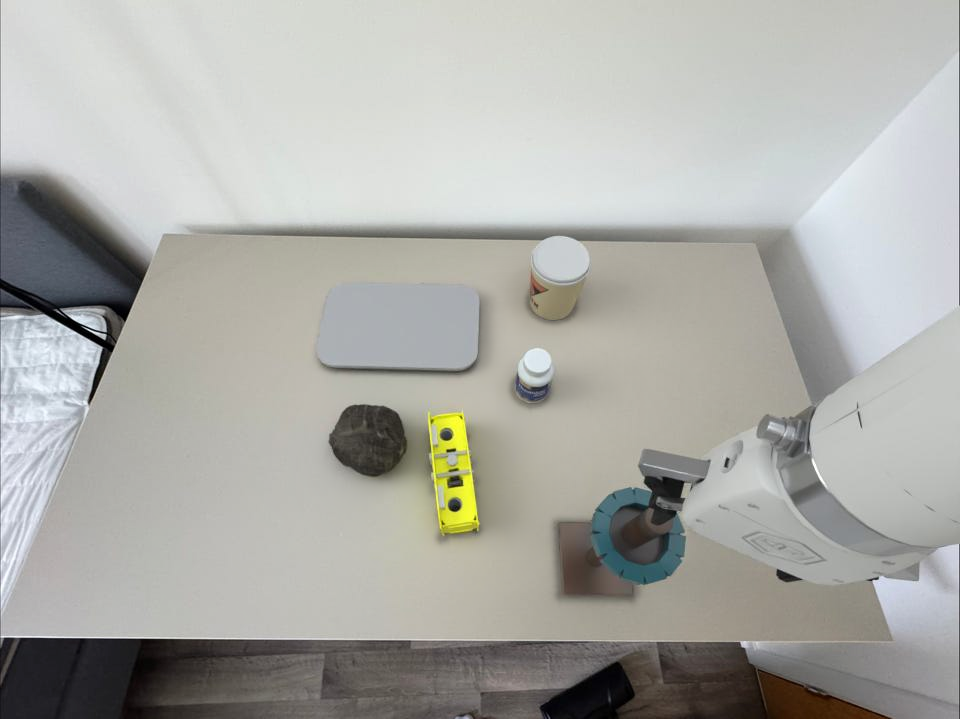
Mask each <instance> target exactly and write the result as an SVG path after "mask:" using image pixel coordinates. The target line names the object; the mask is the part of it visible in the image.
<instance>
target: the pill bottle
mask: <svg viewBox="0 0 960 719" xmlns="http://www.w3.org/2000/svg"><path fill="white" fill-rule="evenodd" d="M552 361H553V360H552V356H551V354H550V353H549V351H547V350H545V349H544V348H541V347H535V348H531V349H529V350H528V351H526V353H525V354H524V356H523V357H521V359H520V360H519V362H518V365H517V370H516V376H515V381H514V391H515V393H516V394H515V395H516V396H517V397H518V398H519V399H520V400H521V401H523V402H525V403H528V404H538V403H541V402H542V401H544V400H545V398H546V397H547V396H548V393H549V391H550V388H551V385H552V381H553V378H554V374H555V366H554V363H553V362H552Z"/></svg>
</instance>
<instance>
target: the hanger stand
mask: <svg viewBox="0 0 960 719" xmlns="http://www.w3.org/2000/svg"><path fill="white" fill-rule="evenodd" d="M653 512H654V509H652V508H648V509H647V510H643V509H640V508H636V507H633V506H630V507H626V508H622V509H619V510H618V511H617V512H616V513H615V514H614V515H613V517H612V519H611V525H610V531H609V534H610V537H611V539H612V542H613V545H614V548H615V549H616V550H617V551H618V552H619V553H620V554H621V555H622V556H623V557H624V558H625V559H626V560H627V561H630V562H633V563H637V564H640V565H647V564H650V563H654V562H655V560H656V559H657V558H658V557H659V555H660V554H661V553H662V552H663V543H664V535H663V534H665V533H667V532H669V531H670V530H671V528H672V526H673V518H672V519H671V520H669V521H667V522H665V523H664V524H662V525H658V526H657V525H654V524H652V523H651V519H652V515H653ZM557 527H558V529H557V530H558V544H559V545H558V546H559V559H560V576H561V578H560V579H561V589H562V590H561V591H562V592H561V593H562V596H622V597H623V596H625V597H628V596H629V597H630V596H631V597H632V596H634V588H633V583H630V582H627V581H623V580H620V579H619V575H617V576H614V575H613V574H612V573H611V572H610V571H609V570H608V569H607V568H606V567H605V566H604V565H603V564H602V563H601V562H600V559H601V558H602V557H603V556H600V557H597V556H596V553H595V550H594V547H593V544H592V541H591V538H590V537H591V536H592V535H594V534H592V533H590V528H591V522H566V521H565V522H564V521H561V522H560V521H559V522H558V524H557Z"/></svg>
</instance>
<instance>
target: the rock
mask: <svg viewBox="0 0 960 719" xmlns="http://www.w3.org/2000/svg"><path fill="white" fill-rule="evenodd" d="M405 433H406V432H405V428H404V424H403V420H402V419H401V417H400V415H399V413H398V412H397V411H395V410H394V409H392V408H390V407H388V406H385V405H372V404H371V405H370V404H367V403H365V404H361V403H360V404H351V405H349V406H347V407H345V409H343V411H342V412H341V414H340V415H339V419H338V420H337V422H336V424H335V425H334V429H332V432H330V433H329V434H328V444H329V445H330V447H331V450H332V454H333V455H334V457H335V459H336V460H338V462H340V463H341V465H342V466H345V467H347V468H351V469H352V470H354V472H356V473H358V474H360V475H361V476H366V477H372V478H375V477H379V476H382V475H384V474H385V473H389V472H390V471H392V470H393V469H395V468H396V467H397V466H398V465H399V464H400V462H401V460H402V458H403V456H404V455H406V452H407V450H408V439H407V437H406V435H405Z"/></svg>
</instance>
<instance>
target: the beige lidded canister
mask: <svg viewBox="0 0 960 719" xmlns="http://www.w3.org/2000/svg"><path fill="white" fill-rule="evenodd" d="M591 268H592V258H591V255H590V253H589V250H588V248H586V246H585V245H584V244H583V243H581V242H580V241H579V240H577V239H576V238H573V237H570V236H565V235H554V236H550V237H547V238H545V239H543V240H542V241H540V242H539V243H538V244H537V245H535V247H534V248H533V250H532V252H531V255H530V281H529V282H530V283H529V305H530V307H531V309H532V311H533V312H534V314H536V315H537V316H538V317H539V318H542V319H544V320H548V321H558V320H562V319H564V318H566V317H568V316H569V315H570V314H571V313H572V311H573V309H574V307H575V305H576V303H577V301H578V298H579V296H580V293H581V292H582V289H583V286H584V284H585V282H586V278H587V276H588V275H589V273H590V271H591Z"/></svg>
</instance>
